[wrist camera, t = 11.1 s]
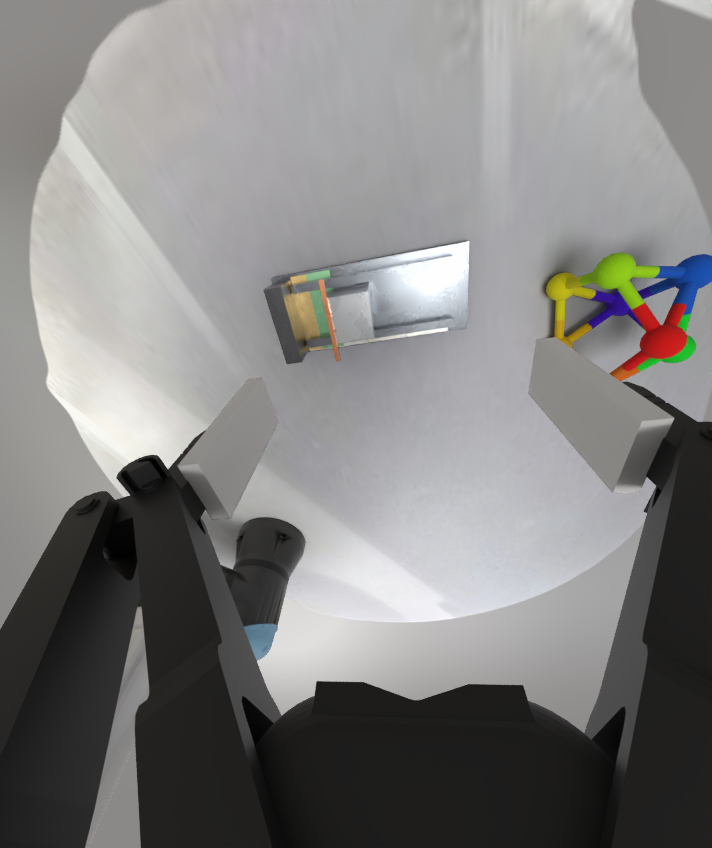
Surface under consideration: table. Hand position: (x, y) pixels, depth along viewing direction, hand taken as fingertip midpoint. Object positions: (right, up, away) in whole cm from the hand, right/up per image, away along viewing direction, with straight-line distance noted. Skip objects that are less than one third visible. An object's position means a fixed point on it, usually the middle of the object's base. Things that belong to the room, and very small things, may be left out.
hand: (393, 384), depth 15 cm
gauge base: (0, +14, +25) cm, 29 cm away
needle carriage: (-2, +13, +24) cm, 27 cm away
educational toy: (+28, +14, +24) cm, 39 cm away
